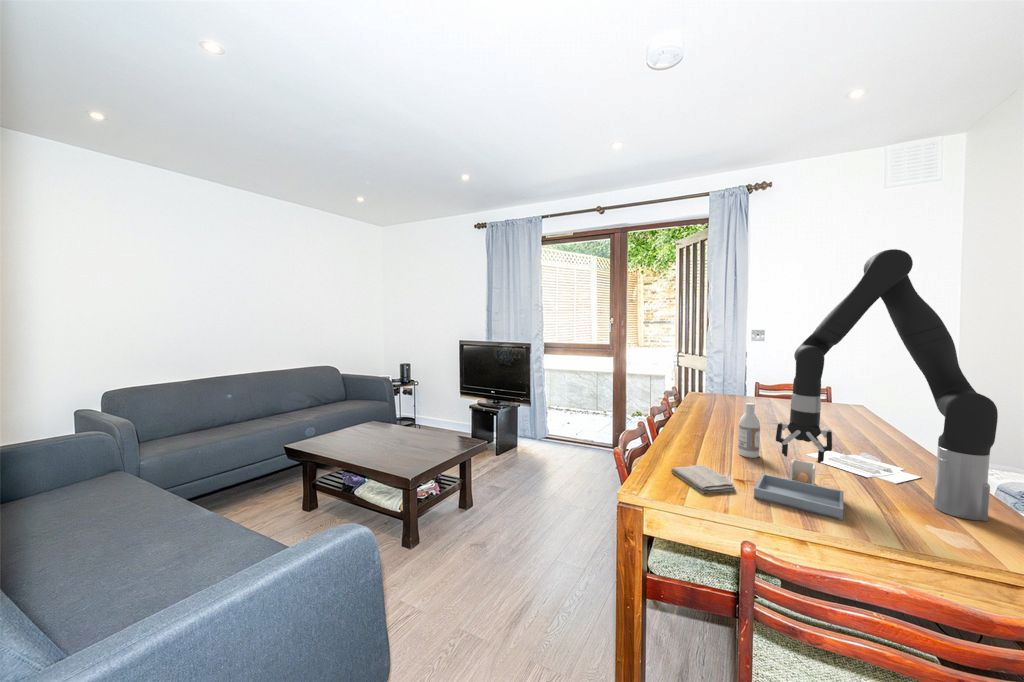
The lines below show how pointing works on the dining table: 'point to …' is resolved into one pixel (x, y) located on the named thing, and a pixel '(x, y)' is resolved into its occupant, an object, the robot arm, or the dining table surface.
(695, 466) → the washcloth
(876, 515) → the dining table surface
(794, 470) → the white cube stool
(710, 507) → the dining table surface
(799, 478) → the ball
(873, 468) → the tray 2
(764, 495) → the tray
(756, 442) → the bath foam
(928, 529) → the dining table surface
